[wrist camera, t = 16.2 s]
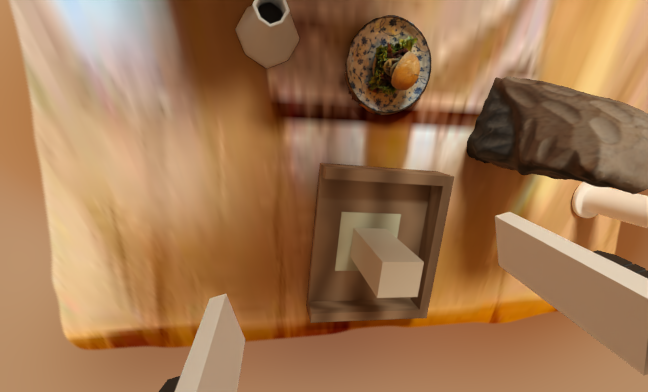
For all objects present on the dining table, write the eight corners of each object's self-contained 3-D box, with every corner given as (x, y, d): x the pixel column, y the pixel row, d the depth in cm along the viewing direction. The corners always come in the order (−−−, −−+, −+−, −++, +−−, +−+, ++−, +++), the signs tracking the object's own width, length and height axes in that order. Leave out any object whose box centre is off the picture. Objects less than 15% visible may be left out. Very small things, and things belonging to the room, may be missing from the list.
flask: (270, -13, 36) (274, -58, 27) (309, 41, 39) (326, 17, 29) (223, 28, 36) (211, -3, 27) (265, 79, 39) (268, 67, 29)
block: (349, 256, 45) (377, 297, 35) (353, 227, 44) (382, 262, 34) (381, 256, 46) (417, 296, 36) (386, 228, 45) (424, 262, 35)
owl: (550, 124, 48) (738, 129, 29) (500, 191, 50) (650, 237, 31) (498, 73, 45) (676, 40, 26) (446, 146, 46) (579, 168, 27)
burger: (405, 2, 40) (436, -22, 33) (437, 88, 44) (472, 82, 36) (325, 48, 39) (339, 32, 32) (365, 130, 43) (386, 133, 36)
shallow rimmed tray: (306, 305, 47) (310, 322, 44) (319, 163, 43) (326, 167, 39) (413, 302, 51) (426, 317, 47) (437, 171, 46) (454, 176, 42)
